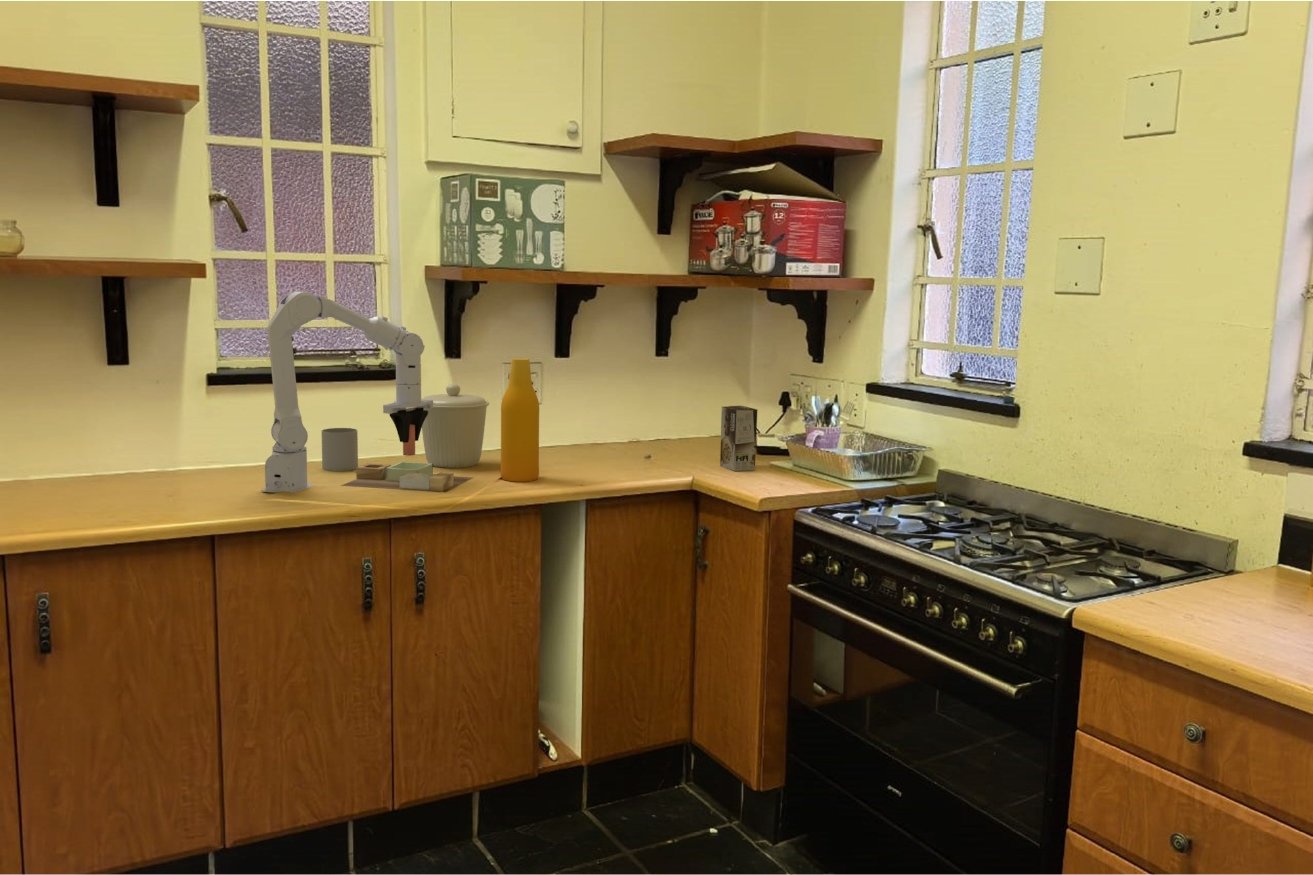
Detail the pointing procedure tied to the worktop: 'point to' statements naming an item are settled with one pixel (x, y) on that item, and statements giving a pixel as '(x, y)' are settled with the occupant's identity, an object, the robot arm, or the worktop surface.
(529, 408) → the beer bottle
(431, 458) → the canister
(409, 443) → the dowel
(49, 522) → the worktop surface
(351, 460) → the cup
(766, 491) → the worktop surface
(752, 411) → the coffee box
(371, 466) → the bench board
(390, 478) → the tray
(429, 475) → the grey flat block
